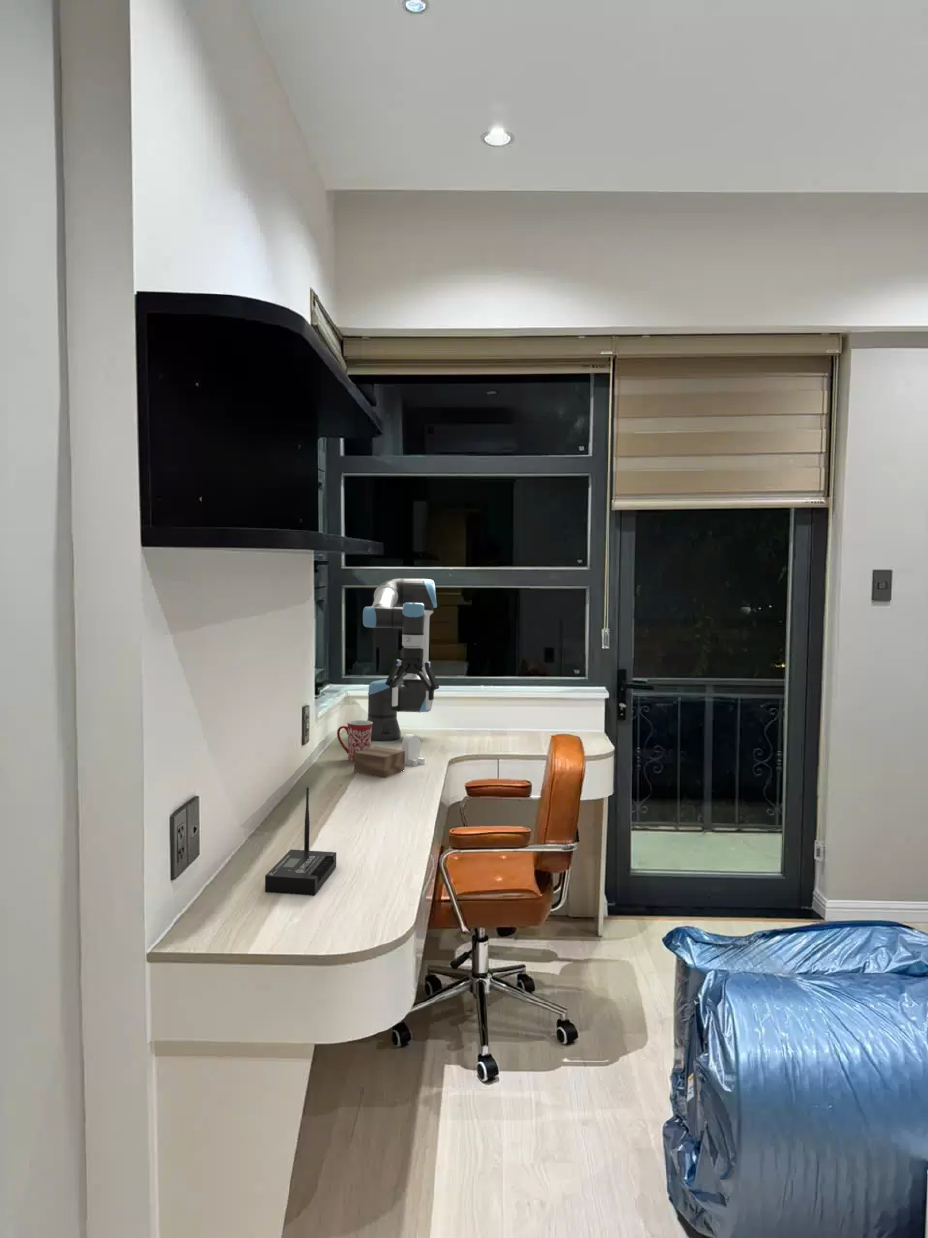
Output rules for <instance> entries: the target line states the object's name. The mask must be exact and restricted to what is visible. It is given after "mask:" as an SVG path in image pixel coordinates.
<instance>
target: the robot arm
mask: <svg viewBox="0 0 928 1238" xmlns="http://www.w3.org/2000/svg"><path fill="white" fill-rule="evenodd" d="M436 594H437V593H436V585H435V581H434V580H433V579H429V578H400V577H398V578H391V579H388V580H386V581H384V582H382V583H381V584H379V585H378V586H377V587H376V589H375V590H374V593H373V602H372V605H371V606H365V607H364V608H363V611H362V624H363V626H364V627H366V628H372V629H375V628H377V629H378V628H382V629H383V628H385V629H389V628H391V629H402V633H401V634H402V635H401V637H402V639H401V641H402V642H401V645H402V648H401V660H400V659H398V658H397V659H394V660H393V666H392V668H391V670H390V672H389V675H388V676H387V679H386V678H385V679H379V680H373V681H371V682H370V683H369V685H368V693H367V695H368V696H367V697H368V702H367V720H366V721H371V722H373V724H372V732H371V741H380V740H382V741H384V740H386V741H394V739H395V740H398V738H399V739H401V737H402V735H401V732H402V731H401V728H400V725H399V721H398V717H397V716H398V713H420V714H421V713H429V712H431V710H432V708H433V703H434V702H433V701H434V695H435V690H439V688H440V686H439V683H438V681H437V678H436V676H435V672H434V670H433V668H432V662H431V661H429V657H430V656H429V648H430V647H429V646H430V617H431V615H432V614H434V609H435V608H436V609H437V607H438V604H437V595H436ZM400 666H401V667H402V668H401V669H400ZM399 669H400V671H399ZM398 671H399V672H398ZM401 681H402V682H401Z"/></svg>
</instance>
